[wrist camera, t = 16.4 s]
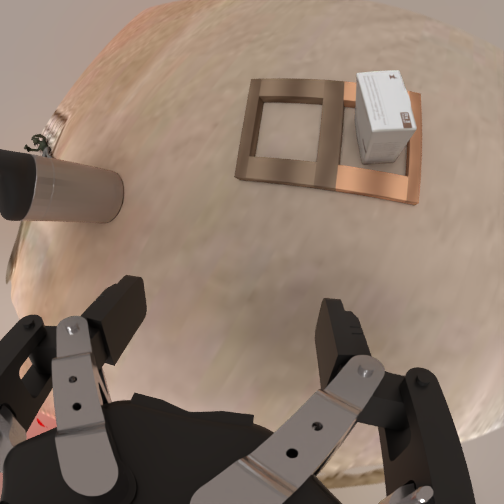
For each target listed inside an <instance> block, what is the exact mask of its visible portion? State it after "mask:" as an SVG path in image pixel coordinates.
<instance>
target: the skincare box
mask: <svg viewBox="0 0 504 504" xmlns="http://www.w3.org/2000/svg"><path fill="white" fill-rule="evenodd" d="M356 76H357V83H356V108H355V127H356V134H357V140H358V145H359V150H360V155H361V160H362V164H372V163H387V162H395V160H396V159H397V157H398V156H399V154H400V153H401V151H402V150H403V148H404V147H405V146H406V144H407V143H408V141H409V140H410V138H411V137H412V135H413V134H414V132H415V131H416V129H417V127H416V123H415V119H414V116H413V112H412V108H411V102H410V98H409V95H408V92H407V90H406V88H405V85H404V82H403V79H402V77H401V74H400V71H398V70H392V71H372V72H362V73H357V74H356Z"/></svg>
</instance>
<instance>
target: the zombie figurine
mask: <svg viewBox="0 0 504 504" xmlns="http://www.w3.org/2000/svg"><path fill="white" fill-rule="evenodd" d="M35 137H40V138H43V141H40V140H39V138H35ZM33 139H34V140H33ZM31 140H33V143H34V145H35V144H40V146H39V147H38V149H31V148H30V147H28V146H27V145H25V147H24V149H27V150H28V152H29V151H37V152H38V151H39V150H40V149H41V150H42V151H43V155H42V156H43V157H49V158H53V157H52V156H51V155H49V152H50V148H49V146H47V143H46V137H44V136H43V135H41V134H38V135H34V136H33V137H32V139H31ZM35 148H36V145H35Z"/></svg>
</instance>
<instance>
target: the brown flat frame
mask: <svg viewBox="0 0 504 504" xmlns="http://www.w3.org/2000/svg"><path fill="white" fill-rule="evenodd" d="M407 92H408V95H409V98H410V102H411V108H412V112H413V116H414V119H415V123H416V127H417V129H416V131H415V132H414V134H413V135H412V137H411V138H410V140H409V141H408V143H407V161H406V176H402V175H397V174H392V173H386V172H381V171H375V170H369V169H363V168H356V167H349V166H342V165H339V164H340V154H341V143H342V132H343V119H344V107H352V108H356V83H353V82H344V81H332V80H317V79H251V83H250V89H249V94H248V100H247V105H246V111H245V116H244V122H243V128H242V134H241V140H240V146H239V152H238V158H237V164H236V170H235V176H234V177H235V178H237V179H239V180H246V181H257V182H267V183H276V184H285V185H294V186H302V187H310V188H317V189H324V190H331V191H338V192H345V193H351V194H357V195H363V196H369V197H375V198H381V199H386V200H392V201H397V202H402V203H407V204H412V205H416V204H418V203H419V193H420V180H421V160H422V112H421V94H420V93H415V92H411V91H407ZM264 102H283V103H306V104H321V105H323V106H322V117H321V127H320V136H319V146H318V154H317V162H310V161H301V160H291V159H279V158H266V157H255V154H256V147H257V141H258V135H259V128H260V122H261V116H262V110H263V103H264Z"/></svg>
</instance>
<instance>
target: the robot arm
mask: <svg viewBox="0 0 504 504" xmlns="http://www.w3.org/2000/svg"><path fill="white" fill-rule="evenodd" d="M122 200H123V184H122V181H121V178H120V177H119V175H118V174H117V173H115V172H113V171H109V170H105V169H101V168H97V167H92V166H88V165H83V164H78V163H73V162H69V161H64V160H59V159H54V158H49V157H43V156H38V155H32V154H27V153H20V152H13V151H7V150H2V149H0V213H1V215H2V217H3V218H5V219H6V220H11V221H63V222H90V223H107V222H109V221H111V220H112V219H114V218H115V216H116V215H117V214H118V212H119V210H120V207H121V205H122ZM146 311H147V305H146V298H145V291H144V283H143V279H142V278H141V277H136V276H130V275H125V276H124V277H123V278H122V279H121V280H120V281H119V282H118V284H114V285H112V286H110V287H108V288H107V289H105V290H104V292H103V293H102V294H101V295H100V296H99V297H98V298H97V299H96V301H94V302H93V303H92V304H91V305H90V306H89V307H88V308H87V309H86V311H85V312H84V313H83V314H82V315H81V316H71V317H67V318H65V319H63V320H62V321H61V322H60V323H59V324H58V325H57V326H45V325H44V323H43V320H42V318H41V317H40V316H38V315H28V316H25V317H23V318H22V319H20V320H19V321H18V323H16V325H15V326H14V327H13V328H12V329H11V330H10V331H9V332H8V333H7V334H6V335H5V336H4V337H3V338H2V340H1V341H0V472H2V473H3V488H2V495H1V500H0V504H342V503H341V502H340V501H339V500H338V499H337V498H336V497H335V496H334V495H333V494H332V493H331V492H330V491H329V490H328V489H327V488H326V487H325V486H324V485H323V484H322V483H321V482H320V481H319V480H318V478H317V477H316V476H317V475H318V474H319V472H320V471H321V470H322V469H323V468H324V466H325V465H326V464H327V463H328V461H329V460H330V459H331V457H332V456H333V455H334V454H335V452H336V451H337V450H338V448H339V447H340V446H341V444H342V443H343V442H344V440H345V439H346V438H347V436H348V435H349V434H350V432H351V431H352V429H353V428H354V427H355V425H356V424H357V422H360V423H365V424H369V425H374V426H378V430H379V436H380V443H381V450H382V458H383V466H384V475H385V485H386V495H387V497H386V498H385V499H383V500H382V501H380V502H379V503H378V504H476V503H475V498H474V493H473V489H472V484H471V480H470V476H469V472H468V468H467V464H466V461H465V457H464V453H463V451H462V447H461V443H460V440H459V437H458V434H457V431H456V428H455V425H454V422H453V419H452V416H451V413H450V411H449V408H448V405H447V403H446V400H445V397H444V395H443V392H442V390H441V387H440V385H439V382H438V380H437V378H436V376H435V375H434V374H433V373H432V372H430V371H429V370H427V369H424V368H418V367H417V368H412V369H410V370H409V371H408V372H407V373H406V375H405V376H401V375H397V374H392V373H389V372H386V371H385V369H384V366H383V365H382V363H381V362H380V361H379V360H377V359H376V358H374V357H372V356H371V353H370V351H369V348H368V345H367V342H366V339H365V336H364V335H363V330H362V328H361V325H360V322H359V319H358V318H357V317H356V316H355V315H354V314H353V313H352V312H351V311H345V310H344V307H343V304H342V301H341V300H340V299H329V298H324V299H323V301H322V304H321V309H320V313H319V317H318V321H317V325H316V331H315V344H316V351H317V359H318V367H319V375H320V383H321V389H319V390H317V391H316V392H315V393H314V394H313V395H312V396H311V397H310V398H309V399H308V401H307V402H306V403H305V404H304V405H303V406H302V407H301V408H300V409H299V410H298V411H297V412H296V413H295V414H294V415H293V416H292V417H291V418H290V419H289V420H287V421H286V422H285V423H284V424H283V425H282V426H281V427H280V428H279V429H278V430H277V431H276V432H275V433H273V432H272V431H270V430H268V429H266V428H264V427H262V426H260V425H257V424H254V423H253V418H254V415H250V414H241V413H233V412H226V411H214V412H188V411H185V410H183V409H181V408H179V407H176V406H174V405H172V404H170V403H168V402H166V401H164V400H161V399H157V398H153V397H149V396H145V395H142V394H138V393H134V395H133V397H132V399H131V400H122V401H115V402H112V401H111V398H110V394H109V390H108V387H107V383H106V379H105V375H104V371H103V368H102V366H103V365H104V363H107V364H110V365H114V366H115V364H116V362H117V361H118V359H119V358H120V356H121V354H122V353H123V351H124V350H125V348H126V346H127V345H128V343H129V342H130V340H131V339H132V337H133V335H134V334H135V332H136V331H137V329H138V328H139V326H140V325H141V323H142V322H143V320H144V318H145V316H146ZM28 357H29V358H30V360H31V362H32V366H31V367H30V368H29V370H28V371H27V373H26V374H25V375H24V377H23V378H22V379H20V376H19V370H20V367H21V366H22V364H23V363H24V362H25V360H26V359H27V358H28ZM52 388H53V396H54V407H55V415H56V423H57V427H56V428H53V429H51V430H49V431H47V432H44V433H42V434H40V435H37V436H35V437H32V438H30V439H28V440H26V432H27V431H28V429H29V427H30V425H31V423H32V422H33V420H34V418H35V416H36V415H37V413H38V411H39V409H40V408H41V406H42V404H43V403H44V401H45V399H46V398H47V396H48V395H49V393H50V391H51V390H52Z"/></svg>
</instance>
